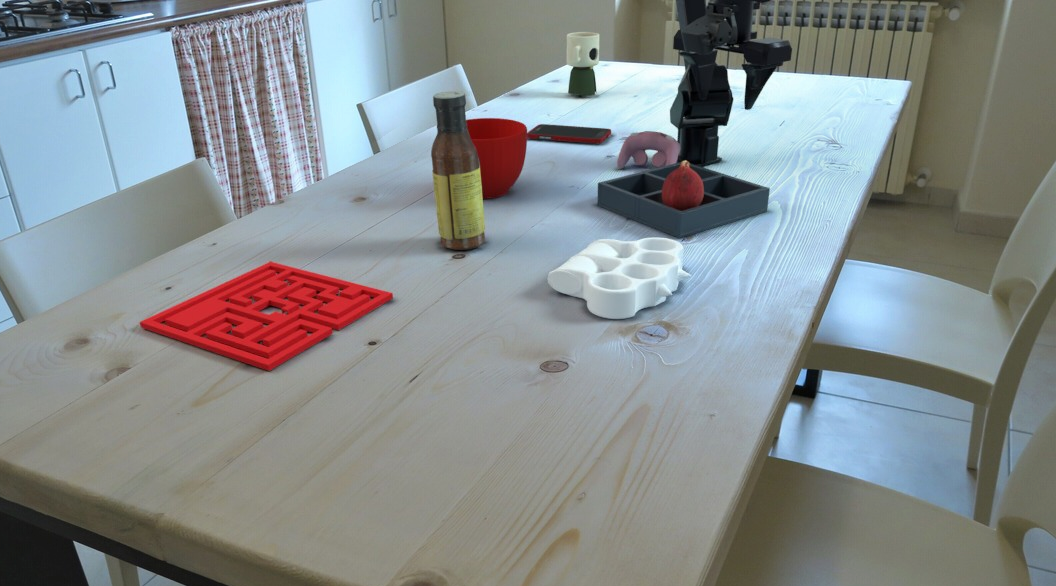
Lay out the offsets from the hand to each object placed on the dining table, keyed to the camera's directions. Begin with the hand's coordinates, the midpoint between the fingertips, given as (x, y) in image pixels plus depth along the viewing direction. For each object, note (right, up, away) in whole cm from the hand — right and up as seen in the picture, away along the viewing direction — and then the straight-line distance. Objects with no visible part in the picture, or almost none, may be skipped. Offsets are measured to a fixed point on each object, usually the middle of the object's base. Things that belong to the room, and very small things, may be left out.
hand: (724, 104), depth 135 cm
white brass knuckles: (-19, -31, -29) cm, 46 cm away
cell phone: (-22, +3, +31) cm, 38 cm away
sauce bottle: (-39, -24, -16) cm, 49 cm away
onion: (-9, -19, -11) cm, 24 cm away
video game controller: (-10, -7, +13) cm, 18 cm away
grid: (-8, -17, -5) cm, 19 cm away
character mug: (-17, +20, +62) cm, 67 cm away
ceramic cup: (-38, -14, +2) cm, 40 cm away
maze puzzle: (-60, -34, -34) cm, 77 cm away
